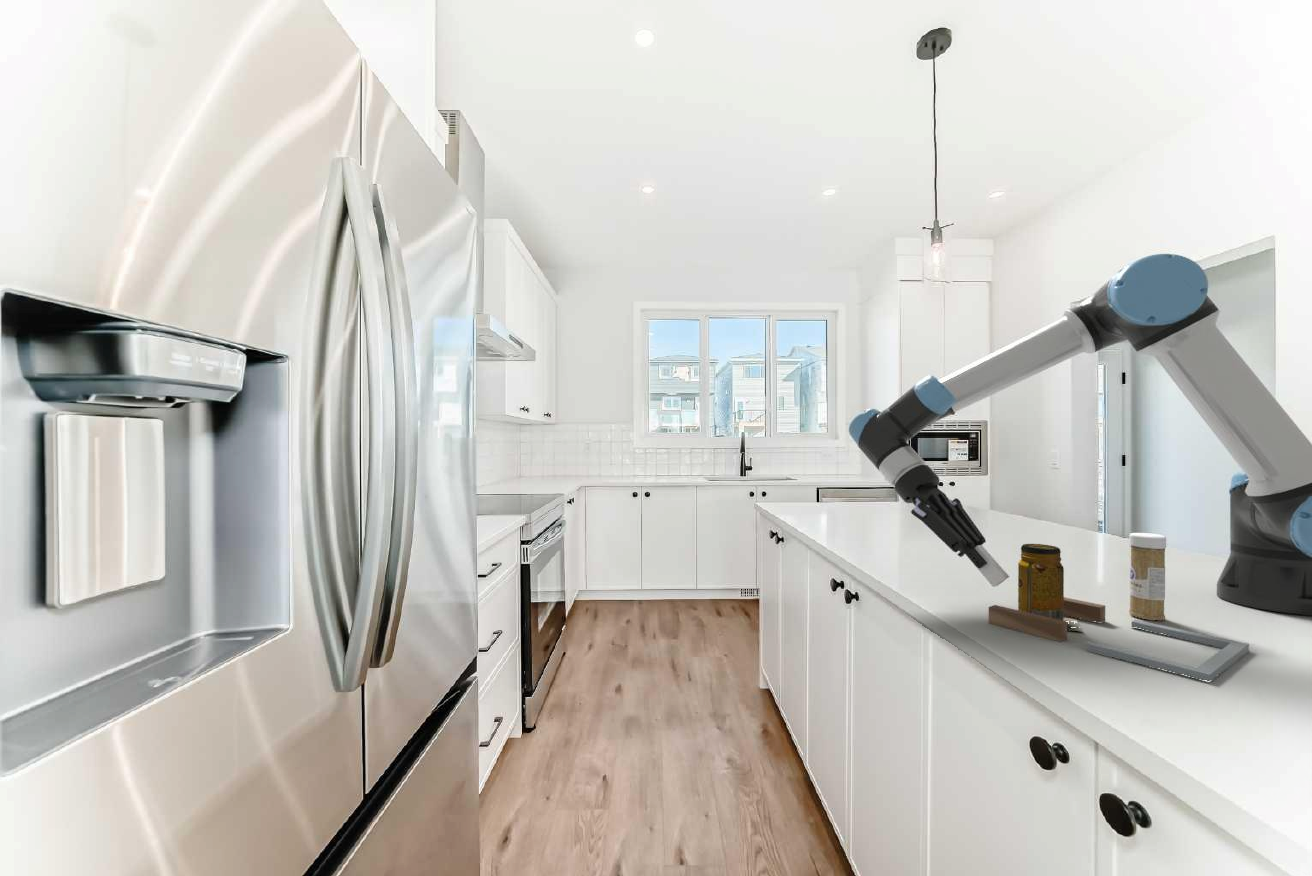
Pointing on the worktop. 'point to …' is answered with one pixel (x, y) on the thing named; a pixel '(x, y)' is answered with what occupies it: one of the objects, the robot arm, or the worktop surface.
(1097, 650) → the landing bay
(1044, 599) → the condiment
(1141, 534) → the toothpick container
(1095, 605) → the wooden blocks
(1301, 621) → the worktop surface
